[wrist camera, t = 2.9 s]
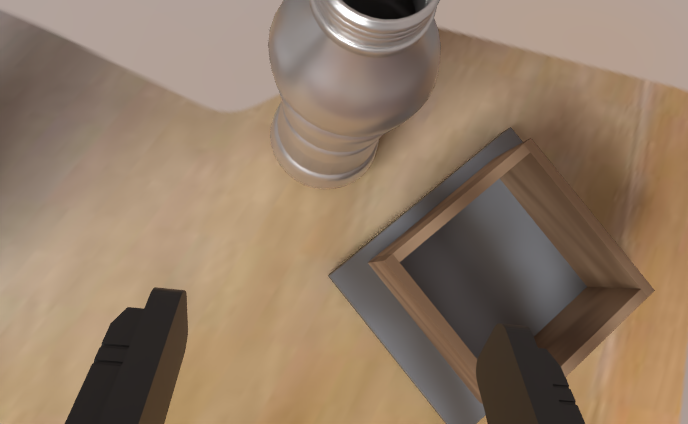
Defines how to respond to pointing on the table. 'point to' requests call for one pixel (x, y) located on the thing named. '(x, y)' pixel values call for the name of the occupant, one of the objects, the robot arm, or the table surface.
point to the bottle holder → (490, 274)
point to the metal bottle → (347, 81)
